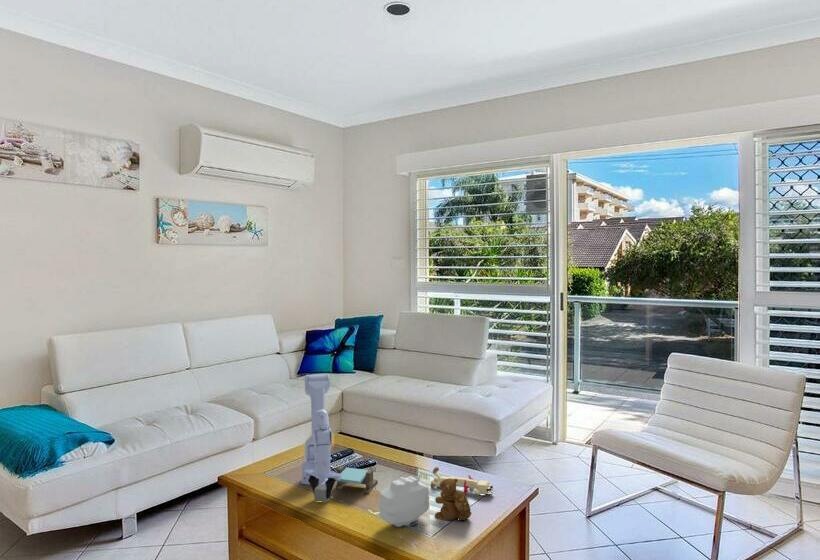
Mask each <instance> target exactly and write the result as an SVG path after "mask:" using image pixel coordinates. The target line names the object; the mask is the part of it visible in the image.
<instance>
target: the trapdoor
mask: <svg viewBox="0 0 820 560" xmlns="http://www.w3.org/2000/svg"><path fill="white" fill-rule="evenodd" d="M368 470H369V469H362V468H354V467H345V469H344V470H343V471H342V472H341V473H340V474H341V480H339V481H340V482H347V483H350V484H356V485H357V484H358V485H360V484H362V485H363V484H364V485H366V472H367V471H368ZM335 482H337V480H336V481H335Z"/></svg>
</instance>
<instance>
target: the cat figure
mask: <svg viewBox="0 0 820 560" xmlns="http://www.w3.org/2000/svg"><path fill="white" fill-rule="evenodd" d="M439 471H440V468H439V467H437V466H435V467H434V468H433V469H432V474H433V475H434V477H433V479H432V480H430V487H431V488H434V487H437V488H439V486H440V483H441V481H443V480H445V479H453V480H454V479H458V481H457V483H456V487H458V488H460V487H461V488H463V493H464V494H466V495H467V494H468V493H469V490H470V489H471V490H473V492H474V493H476V494H477V496H478V495H480V494H487V493H488V491H493V492H491V493H492V494H494V492H495V490H493V488H494V487H493V485H492V484H490V482H489V481H488V480H482V479H481V480H475V479H474V478H473V477H472V476H471V475H467V476H468V478H467V477H456V476H442V477H441V475H440V474H439V473H438V472H439ZM469 488H470V489H469Z"/></svg>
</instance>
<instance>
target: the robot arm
mask: <svg viewBox="0 0 820 560" xmlns="http://www.w3.org/2000/svg"><path fill="white" fill-rule="evenodd" d="M330 387H331V378H330V375H329V373H321V374H318V373H317V374H306V375H305V376H304V392H305V394H306V396H307V395H308V396H309V399H310V405H311V406H310V409H311V410H310V411H311V413H310V414H311V436H310V437H308V438H307V439H306V440H305V442H304V445H305V446H304V460H303V461H302V465H301V482H300V483H301V484H303V485H309V486H311V489H312V492H313V494H314V489H315V488H316V487H317V486H318V485H319V484H323V485H326V489H327V494H326V496H327V498H329V497H330V498H331V495H332V491H333V487H334V486H335V483H336V482H337V481H339V480H341V474H339V473H337V472H335V471H332V470H331V445H332V443H333V442H332V441H333V432H332V429H331V426H330V420H329V412H327V411H326V407H325V406H326V402H325V401H326V399H325V398H326V397H325V396H326V394H328V391H329V390H330ZM336 480H337V481H336Z"/></svg>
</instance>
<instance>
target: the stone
mask: <svg viewBox="0 0 820 560" xmlns="http://www.w3.org/2000/svg"><path fill="white" fill-rule="evenodd" d="M326 494H327V489H326V484H324V485H323V484H319V485H318V486H317V487H316V488H315V489H314V493H313V498H314V499H313V500H315V501H322V502H326V501H327V500H328V499H329V500H330V499H331V496H330V497H329V498H327V496H326ZM329 500H328V501H329ZM328 501H327V502H328ZM327 502H326V503H327Z"/></svg>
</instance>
